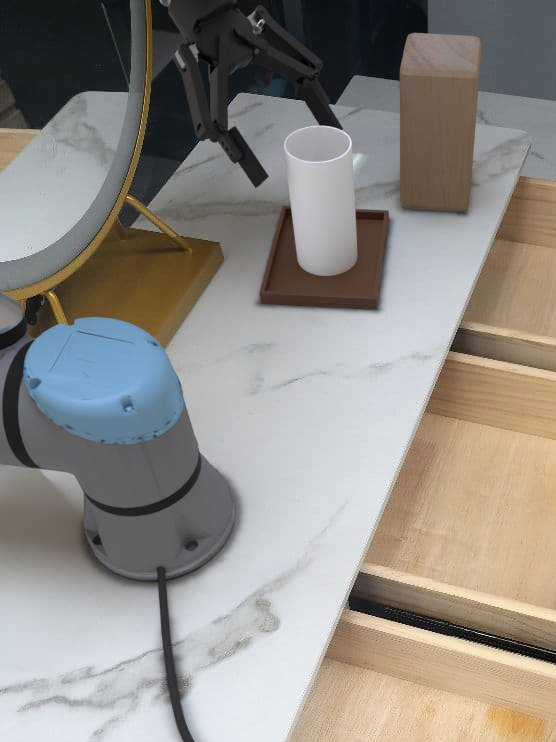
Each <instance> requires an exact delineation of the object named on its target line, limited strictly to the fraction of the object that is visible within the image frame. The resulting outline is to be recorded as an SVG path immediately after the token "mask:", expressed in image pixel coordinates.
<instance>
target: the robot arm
mask: <svg viewBox="0 0 556 742" xmlns="http://www.w3.org/2000/svg"><path fill="white" fill-rule="evenodd" d="M158 1H159V2H160V4H161V5H162V6H164V7H167V10H168V15H169V17H170V18H171V20H172V21H173V23H174V24H175V26H176V28H177V29H178V30H179V32H180V33H181V35H182V37H183V38H184V39H185V40H187V41H189V42H190V45H188V44H187V43H184V42H183V43H180V45H179V46H178V48H177V50H176V51H175V53H174V55H173V57H172V60H173V62H174V64H175V66H176V68H177V70H178V71H179V74H180V75H181V77H182V83H183V86H184V91H185V94H186V99H187V102H188V106H189V111H190V116H191V120H192V124H193V128H194V132H195V136H196V139H197V140H199V141H200V142H205V141H206V140H209V141H210V142H211V143H213V144H216V143H218V144H219V145H220V147H221V148H222V150H223V152H224V153H225V154H226V156H227V157H228V159H229V160H230V162H232V164H234V165H236V164H237V163H238V165H239V167H240V168H241V169H242V170H243V172H244V174H245V175H246V177H247V178H248V180H249V181H250V182H251V184H252V186H253V187H254V188H255V189H257V188H258V187H260V186H261V185H262V184H263V183H264V182H265V181H266V180H267V179H268V178H269V177H270V176H269V175H268V173H267V171H266V170H265V168H264V167H263V165H262V164H261V163H260V161H259V159H258V157H257V156H256V155H255V153H254V152H253V150H252V149H251V147H250V145H249V144H248V142H247V141H246V140H245V138H244V137H243V135H242V133H241V132H240V130H239V129H238V128H237V126H236V125H234V126H232V127H230V128H229V100H228V99H229V96H228V95H229V94H228V93H229V92H228V90H229V89H228V76H230V75H233V73H235V71H236V70H238V69H243V68H245V67H247V66H248V65H249V64H251V65H253V66H261V67H262V68H265V69H266V70H268V71H270V72H272V73H274V74H276V75H277V76H280V77H282V79H283V78H284V79H286V80H287V81H289V82H290V83H293V84H295V85H296V86H299V87H300V88H301V89H302V90H301V91H300V92H299V95H300V96H301V98H302V100H303V101H304V103H305V105H306V106H307V108H308V109H309V111H310V113H311V115H312V116H313V118H314V119H315V121H316V122H317V124H318V126H329V127H334V128H337V129H340V130H342V131H343V130H344V127H343V126H342V124H341V123H340V121H339V120H338V118H337V116H336V114H335V113H334V111H333V110H332V108H331V106H330V105H331V100H330V98H329V96H328V95H327V93H326V92H325V89H324V88H323V86H322V85H321V83H320V82H319V79H318V76H319V75H320V72H321V70H322V69H323V67H324V62H323V60H322V59H320V58H319V57H318V56H317V55H315V53H314V52H313V51H311V50H310V49H309V48H307V47H306V46H305V45H304V44H303V43H301V42H300V41H299V40H298V39H297V38H295V37H294V36H293V35H292V34H291V33H290V32H288V31H287V30H286V29H285V28H284V27H283V26H281V25H280V24H279V23H277V22H276V21H275V20H274V18H273V17H272V15H271V13H269V12H268V10H267V9H266V7H265V6H263V4H262V5H261V4H258V5H257V6H256V8H255V9H254V10H253V12H252V13H251V14H249V15H247V16H246V15H244V13H243V12H241V11H240V8H239V6H238V2H237V0H158ZM199 61H201V62H203V63H205V64H207V66H208V70H207V73H208V83H209V95H210V96H209V100H210V101H209V102H210V107H209V102H208V99H207V94H206V90H205V86H204V81H203V78H202V73H201V69H200V65H199ZM188 411H189V410H188V408H187V405H186V401H185V397H184V391H183V386H182V383H181V380H180V378H179V376H178V374H177V372H176V371H175V369H174V366H173V364H172V362H171V359H170V357H169V355H168V353H167V351H166V350H165V349H164V348H163V346H162V345H161V344H160V342H159V341H158V340H157V339H156V337H154V336H153V335H152V334H150V333H149V332H148V331H147V330H145V329H143V328H141V327H139V326H138V325H135V324H132V323H130V322H128V321H125V320H121V319H117V318H111V317H102V316H89V317H87V316H86V317H80V318H75V319H74V323H73V324H72V325H71V324H70V325H68V324H66V323H64V322H61V323H58V324H56V325H54V326H51V327H50V328H48V329H47V330H45V331H44V332H42V333H41V334H40V335H38V336H37V337H32V336H31V334H30V332H29V328H28V324H27V320H26V316H25V312H24V308H23V305H22V304H21V303H20V302H19V301H17V300H16V299H14V298H13V297H11V296H10V295H8V294H7V293H5V292H3V291H2V290H1V289H0V465H4V466H13V467H20V468H29V469H37V470H45V471H52V472H60V473H67V474H70V475H73V476H74V477H75V479H76V481H77V483H78V485H79V487H80V488H81V490H82V492H83V528H84V532H85V537H86V539H87V542H88V544H89V546H90V549H91V550H92V552H93V553H94V556H95V557H96V558H97V559H98V560H99V562H100V563H101V564H102V565H103V566H104V567H106V568H107V569H109V570H110V571H111V572H113V573H115V574H117V575H120V576H122V577H125V578H128V579H131V580H137V581H149V582H150V581H157V591H158V604H159V615H160V617H159V619H160V633H161V642H162V651H163V658H164V666H165V673H166V674H165V675H166V681H167V687H168V688H167V689H168V693H169V698H170V703H171V708H172V712H173V716H174V720H175V725H176V727H177V729H178V732H179V735H180V737H181V740H182V741H183V742H195V740H194V738H193V736H192V734H191V732H190V729H189V727H188V725H187V722H186V719H185V716H184V711H183V707H182V702H181V699H180V694H179V689H178V682H177V677H176V676H177V675H176V669H175V661H174V654H173V647H172V639H171V628H170V613H169V601H168V592H167V591H168V589H167V580H169V579H173V578H177V577H181V576H183V575H186V574H188V573H190V572H192V571H194V570H196V569H198V568H200V567H201V566H203V565H205V563H207V562H208V561H210V559H212V558H213V557H214V556H215V555H216V554H218V552H219V551H220V550H221V549H222V548H223V546H224V545H225V543H226V542H227V541H228V539H229V537H230V534H231V532H232V530H233V527H234V523H235V517H236V509H235V508H236V507H235V503H234V498H233V495H232V492H231V489H230V487H229V485H228V483H227V481H226V480H225V478H224V476H223V475H222V474H221V473H220V471H219V470H218V469H217V468H216V467H214V465H213V464H212V463H210V462H209V461H208V460H207V458H206V457H205V456H204V455H203V453H202V452H201V451H200V448H199V443H198V439H197V437H196V435H195V430H194V428H193V424H192V421H191V418H190V414H189V412H188Z"/></svg>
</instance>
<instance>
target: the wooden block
mask: <svg viewBox="0 0 556 742" xmlns="http://www.w3.org/2000/svg"><path fill="white" fill-rule="evenodd" d="M482 46H483V44H482V41H481V38H480V37H478V36H476V35H461V34H442V33H425V32H424V33H423V32H412V33H409V34H408V35H407V37H406V39H405V43H404V49H403V53H402V57H401V63H400V68H399V201H400V204H401V206H402V207H403V208H405V209H416V210H429V211H431V210H432V211H445V212H446V211H448V212H465V211H467V210H468V207H469V206H470V199H471V187H472V176H473V164H474V152H475V151H474V150H475V139H476V138H475V137H476V125H477V111H478V97H479V83H480V74H481V71H480V70H481V62H482V61H481V59H482Z"/></svg>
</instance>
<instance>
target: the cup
mask: <svg viewBox="0 0 556 742" xmlns="http://www.w3.org/2000/svg"><path fill="white" fill-rule="evenodd" d="M283 154H284V159H285V170H286V177H287V186H288V187H287V188H288V193H289V202H290V206H291V211H292V219H293V227H294V236H295V244H296V252H297V260H298V263H299V265H300V266H301V267H302V268H303V269H304V270H305V271H307V272H309V273H311V274H314V275H319V276H333V275H338V274H341V273H344V272H346V271H348V270H349V269H351V268H352V267H353V266H354V265H355V263H356V261H357V258H358V253H357V233H356V213H355V209H356V197H355V196H356V194H355V176H354V175H355V174H354V158H353V157H354V155H353V144H352V139H351V137H350V136H349V134H348V133H346V132H345V131H343V130H340V129H337V128H334V127H329V126H320V125H312V126H306V127H302V128H299V129H297V130H294V131H292V133H290V134H288V136H287V137H286V138H285V140H284V142H283Z"/></svg>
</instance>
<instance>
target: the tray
mask: <svg viewBox="0 0 556 742" xmlns="http://www.w3.org/2000/svg"><path fill="white" fill-rule="evenodd" d="M355 213H356V233H357V253H358V258H357V261H356V263H355V265H354V266H353V267H352V268H351V269H349V270H348V271H346V272H344V273H341V274H338V275H333V276H319V275H314V274H311V273H309V272H307V271H305V270H304V269H303V268H302V267H301V266H300V265H299V263H298V260H297V252H296V244H295V236H294V227H293V219H292V211H291V205H282V207H281V209H280V214H279V217H278V221H277V224H276V225H277V226H276V229H275V233H274V236H273V239H272V244H271V247H270V252H269V255H268V259H267V263H266V266H265V270H264V273H263V278H262V282H261V286H260V290H259V299H260V304H261V305H262V304H263V305H281V306H282V305H283V306H284V305H285V306H299V307H300V306H301V307H302V306H303V307H321V308H341V309H342V308H343V309H360V310H362V309H363V310H378V304H379V297H380V290H381V289H380V288H381V282H382V274H383V267H384V260H385V253H386V245H387V240H388V231H389V224H390V210H387V209H367V208H366V209H365V208H355Z"/></svg>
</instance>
